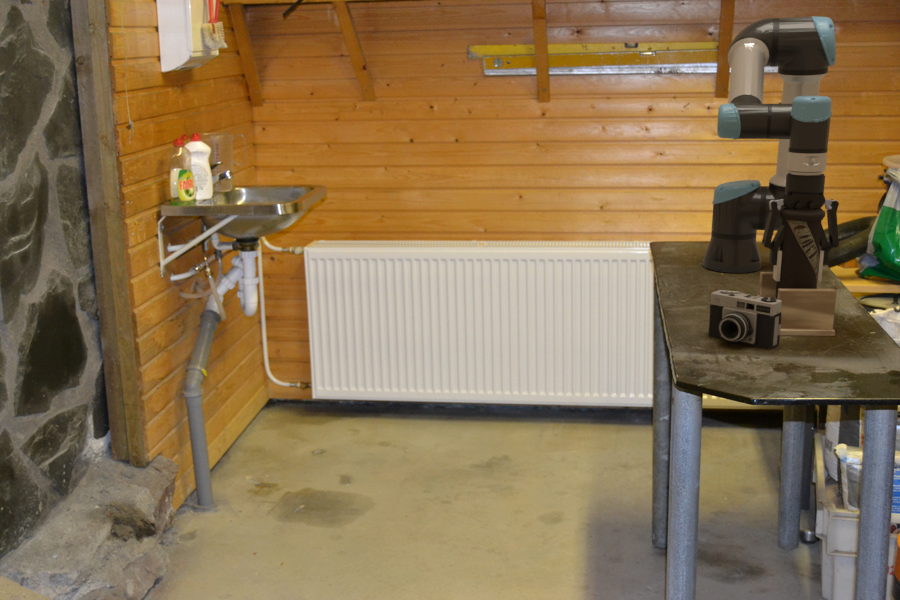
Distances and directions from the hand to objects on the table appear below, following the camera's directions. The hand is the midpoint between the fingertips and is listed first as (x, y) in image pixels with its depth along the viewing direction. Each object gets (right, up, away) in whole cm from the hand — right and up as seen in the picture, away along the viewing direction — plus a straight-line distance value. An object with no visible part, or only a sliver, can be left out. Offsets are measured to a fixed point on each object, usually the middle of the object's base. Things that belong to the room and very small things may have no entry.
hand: (796, 279), depth 190 cm
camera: (-16, -13, -10) cm, 23 cm away
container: (0, -4, +1) cm, 5 cm away
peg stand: (0, -9, +2) cm, 9 cm away
